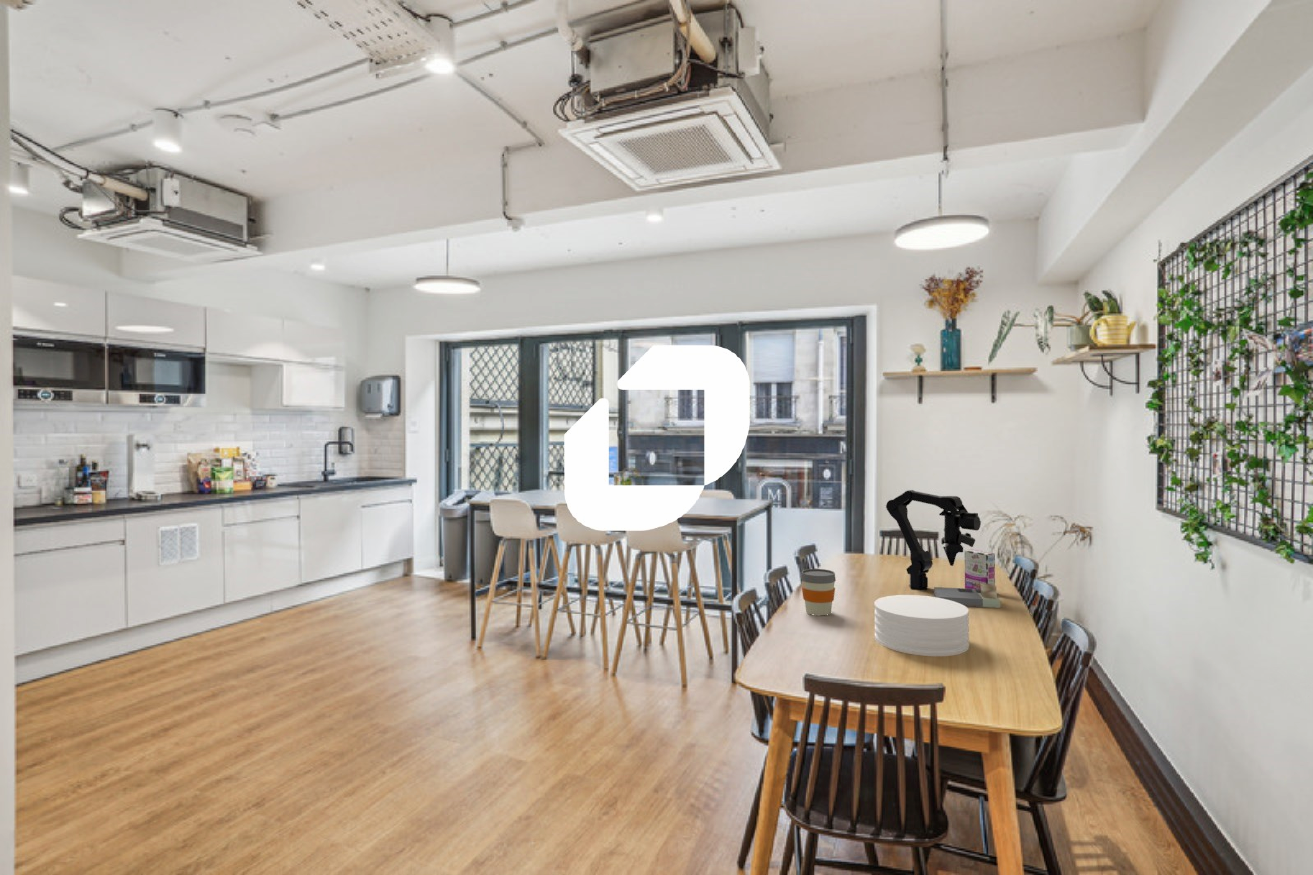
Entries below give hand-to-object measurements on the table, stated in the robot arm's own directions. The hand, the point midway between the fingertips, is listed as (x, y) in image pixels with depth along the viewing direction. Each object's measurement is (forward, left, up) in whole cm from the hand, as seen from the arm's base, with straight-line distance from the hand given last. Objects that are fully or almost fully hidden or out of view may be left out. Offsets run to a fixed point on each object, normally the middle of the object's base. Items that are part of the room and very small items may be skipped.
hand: (951, 565), depth 267 cm
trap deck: (+4, -9, -12) cm, 16 cm away
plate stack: (-19, -64, -12) cm, 68 cm away
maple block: (+11, -13, -9) cm, 19 cm away
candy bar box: (+12, +9, -12) cm, 19 cm away
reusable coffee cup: (-52, -38, -12) cm, 66 cm away
